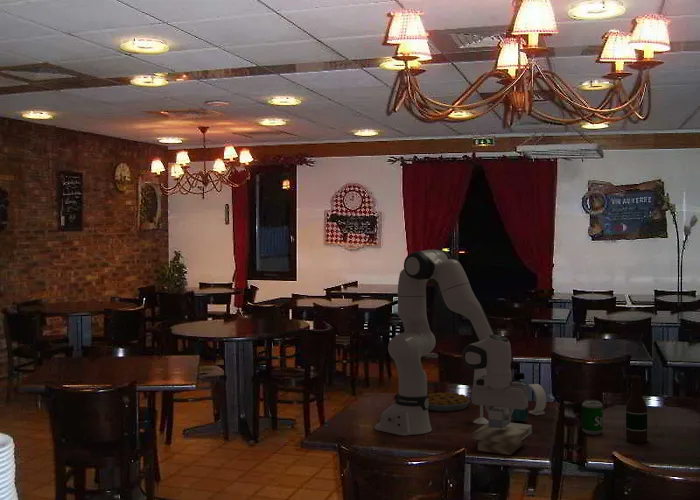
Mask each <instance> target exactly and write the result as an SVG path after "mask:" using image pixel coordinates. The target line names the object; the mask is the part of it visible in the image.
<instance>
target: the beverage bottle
mask: <svg viewBox="0 0 700 500" xmlns="http://www.w3.org/2000/svg"><path fill="white" fill-rule="evenodd" d="M513 376H514V377H513V379H515V381H513V382H517V383H524V384H525V385H526V386H527V387H528V383H527V382H525V381H524V379H526V378H525V373H523V372H515V373H514V375H513ZM527 398H528V394H527ZM511 419H512V420H514V421H519V422H520V421H521V422H523V421H527V420H529V406H528V407H527V408H526V409H524V410H521V409H514V411H513V413H512V415H511Z"/></svg>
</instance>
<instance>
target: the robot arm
mask: <svg viewBox="0 0 700 500" xmlns="http://www.w3.org/2000/svg"><path fill="white" fill-rule="evenodd" d="M430 279H431V280H435V281H436V282H437V284H438V287H439V290H440V293H441V296H442V299H443V302H444V303H445V305H446V307H447V308H448V309H449V310H450V311H452V312H454V313H456V314H460V315H462V316H463V317H466V318H467V319H468V320H469V321H470V323H471V324H472V326H473V329H474V331H475V333H476V336H477V337H478V340H479V341H476V342H473V343H469V344H468V345H466V346H465V347H464V348H463V350H462V362H463V364H464V365H465V367H467V368H468V369H470V370H474V371H475V370H478V369H486V372H487V375H484V376H481V377H478V378H476V379H475V380H474V379H473V383H474V385H475V386H474V387H473V386H472V388H471V398H470V402H471V403H472V404H473V405H476V406H480V405H483V407H484V409H485V410H486V413H487V414H488V410H490V409H491V407H492V408H493V407H502V408H508V411H510V412H509V414H508V415H506V420H508V421H510V420H511V421H512V413H513V411H514V409H521V410H524V409H526V408H527V407H528V408H529V399H528V398H527V395H528V392H529V391H528V389H529V387H528V385H527V386H526V385H525V384H524V383H517V382H514V381H513V379H512V369H511V363H512V348H511V342H510V340H509V339H508V337H506V336H505V335H501V334H495V331H494V329H493V327H492V325H491V322H490V320H489V318H488V316H487V313H486V311H485V310H484V307H483V306H482V304H481V303H480V301H479V300H478V299H477V297H476V295H475V293H474V291H473V289H472V287H471V286H472V285H471V284H470V280H469V278H468V276H467V274H466V271H465V270H464V267H463V266H462V264H461V263H460V261H459V260H456V259H453V257H452V256H451V255H450V253H449V252H447V251H445V250H442V249H425V250H417V251H414V252H413V251H412V252H411V253H409V254H407V256H406V257H405V258H404V262H403V269H402V270H401V271H400V272H399V277H398V281H397V282H398V283H397V316H398V317H399V319H400V320H401V322H402V325H403V329H404V331H403V332H401V333H398V334H396V335H394V337H392V338H391V339H390V341H389V342H388V346H387V350H388V353H389V356H390V357H391V359H393V361H394V363H395V366H396V370H397V377H398V393H396V394H395V395H394V396H393V397H392V400H394V402H393V403H392V404H391V405H390V406H389V407H388V408H386V409H385V410H384V411H382V413H381V416H380V420H379V421H380V422H378V423H376V424H375V426H374V430H375V431H380V432H385V433H388V434H394V435H397V436H402V437H403V436H411V435H412V436H413V435H423V434H427V433H430V432H431V431H433V429H432V425H431V422H430V416H429V409H428V405H429V400H428V394H429V393H428V376H427V373H426V371H425V370H424V369H423V365H422V361H421V360H422V359H421V358H423V357H425V356H427V355H429V354H431V352H432V351H433V350H434V349H435V346H436V345H437V342H436V341H437V340H436V337H435V334H434V333H433V332H432V331H431V328H430V324H429V320H428V315H427V282H429V281H430Z"/></svg>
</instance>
